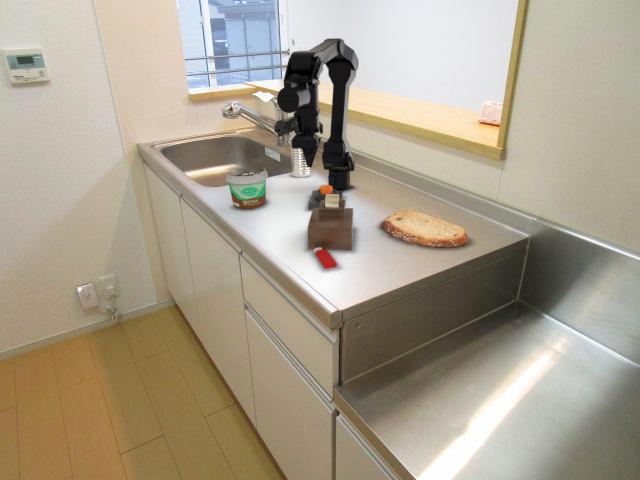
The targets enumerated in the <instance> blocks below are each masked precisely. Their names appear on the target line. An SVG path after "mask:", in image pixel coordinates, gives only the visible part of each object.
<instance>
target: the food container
mask: <svg viewBox="0 0 640 480" xmlns="http://www.w3.org/2000/svg"><path fill="white" fill-rule="evenodd" d="M268 178H269V174H268V171H267V168H266V167H263V170H258V171H246V172H243V173H239V174H236V175H231V174H228V173H226V176H225V182H226V183H228V187H229V192H230V195H231V200H232V205H233V207H234V208H235V209H237V210H244V211H245V210H246V211H248V210H249V211H250V210H255V209H258V208H261V207H263V206H265V205H266V195H267V194H266V193H267V191H266V188H267V185H266V184H267V179H268Z"/></svg>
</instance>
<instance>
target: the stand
mask: <svg viewBox="0 0 640 480" xmlns="http://www.w3.org/2000/svg"><path fill="white" fill-rule="evenodd" d="M353 234H354V208H353V207H346V199H342V200H339V207H325V200H321V202H320V206H319V208H313V210H311V214H310V216H309V221H308V225H307V247H308V248H307V249H308V251H309V250H311V251H314V249H315V248H319V247H321V248H325V249H326V250H327V251H353V237H354V235H353Z"/></svg>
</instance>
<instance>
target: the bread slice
mask: <svg viewBox="0 0 640 480" xmlns="http://www.w3.org/2000/svg"><path fill="white" fill-rule="evenodd" d="M380 227H381V228H383V229H384V230H385V232H386V233H387V234H389V235H390V236H391V237H393V238H396V239H399V240H401V241H404V242H407V243H409V244H410V243H411V244H418V245H421V246H425V247H432V248H434V247H435V248H455V247H460V246H464V245H466V244H468V243H469V237H468V234H467V231H466V230H465V228H464V227H461V226H459V225H457V224H455V223H451V222H449V221H447V220H444V219H443V218H438V217H435V216H432V215H429V214H425V213H421V212H417V211H415V210H411V209H405V210H404V209H403V210H400V211H396V212H394V213H393V214H390V215H388V216H387V217H386V218H385V219H383V221H382V222H381V224H380Z"/></svg>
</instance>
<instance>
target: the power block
mask: <svg viewBox="0 0 640 480" xmlns="http://www.w3.org/2000/svg"><path fill="white" fill-rule="evenodd" d="M331 194H339V200H344V199H343V197H344V191H337V190H336V189H332V193H331ZM325 197H326V194H320V188H318V189H316V190H312V192H311V196H310V198H309V202H308V210H309V211H312V210H313V208H319V206H320V202H321V200H325Z"/></svg>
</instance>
